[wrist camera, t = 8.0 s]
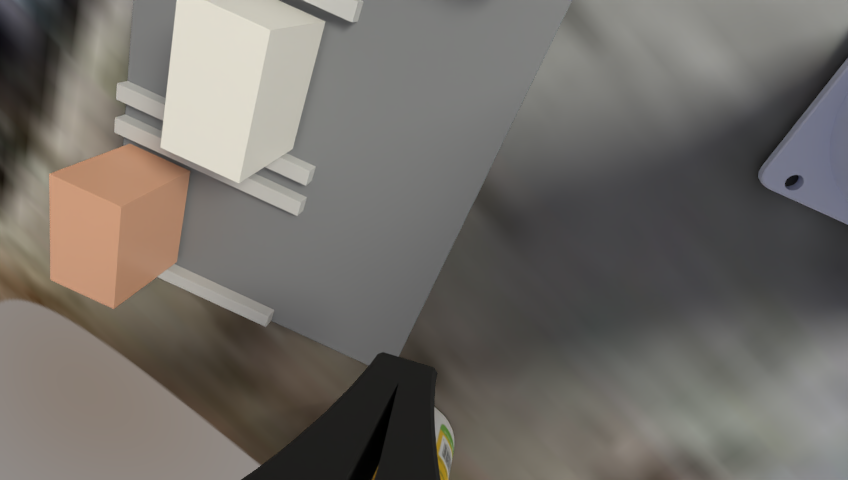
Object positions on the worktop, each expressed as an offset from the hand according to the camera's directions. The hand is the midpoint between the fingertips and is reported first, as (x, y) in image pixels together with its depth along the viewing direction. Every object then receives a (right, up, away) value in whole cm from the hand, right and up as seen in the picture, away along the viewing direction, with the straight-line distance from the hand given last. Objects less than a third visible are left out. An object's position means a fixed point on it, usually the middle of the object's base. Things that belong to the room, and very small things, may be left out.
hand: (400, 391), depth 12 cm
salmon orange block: (-10, +5, +8) cm, 14 cm away
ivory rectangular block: (-4, +9, +5) cm, 11 cm away
